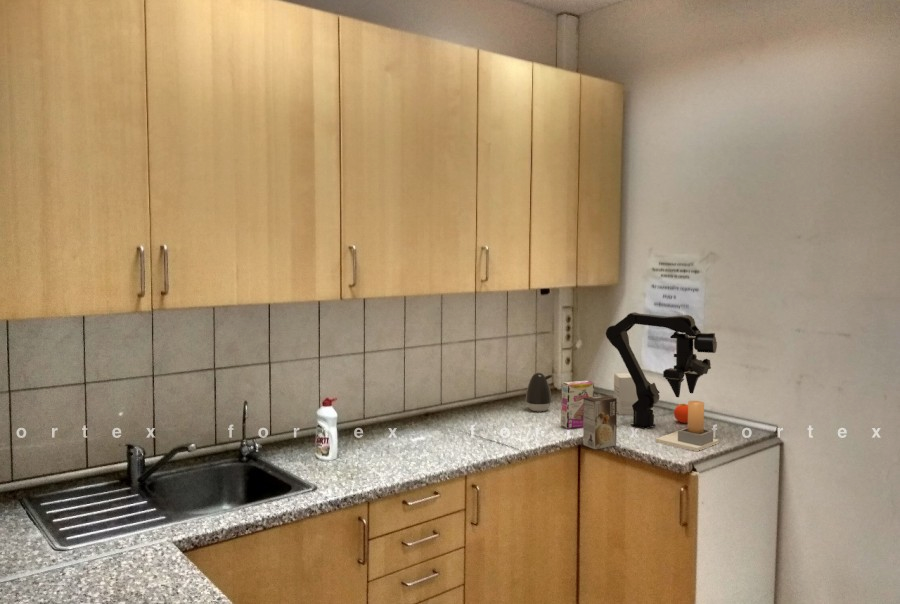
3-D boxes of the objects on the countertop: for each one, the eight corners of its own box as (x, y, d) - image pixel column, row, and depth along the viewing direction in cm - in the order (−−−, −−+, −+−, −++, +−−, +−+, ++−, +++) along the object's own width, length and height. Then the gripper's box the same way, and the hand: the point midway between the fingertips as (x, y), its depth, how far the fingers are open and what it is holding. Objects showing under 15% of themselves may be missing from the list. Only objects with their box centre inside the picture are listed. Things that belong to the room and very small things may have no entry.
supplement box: (635, 409, 287) (636, 372, 286) (642, 415, 278) (642, 376, 277) (613, 409, 287) (613, 372, 286) (618, 415, 278) (619, 377, 277)
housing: (655, 442, 241) (656, 428, 240) (677, 434, 250) (677, 421, 250) (697, 451, 230) (697, 437, 229) (718, 443, 239) (718, 429, 239)
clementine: (670, 419, 271) (671, 401, 271) (689, 419, 271) (689, 401, 271) (676, 424, 263) (676, 405, 263) (695, 425, 263) (696, 405, 263)
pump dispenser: (553, 413, 281) (553, 375, 280) (526, 413, 281) (527, 375, 280) (550, 407, 291) (550, 370, 290) (524, 407, 292) (524, 370, 290)
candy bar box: (567, 429, 257) (568, 384, 255) (560, 426, 261) (560, 382, 260) (594, 426, 261) (594, 382, 260) (586, 423, 266) (586, 379, 264)
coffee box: (604, 441, 242) (605, 394, 241) (616, 446, 236) (617, 398, 235) (582, 444, 238) (583, 397, 237) (594, 449, 232) (595, 401, 231)
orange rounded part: (686, 442, 237) (687, 403, 235) (688, 438, 241) (689, 400, 240) (702, 443, 235) (703, 404, 233) (703, 439, 239) (704, 401, 238)
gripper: (691, 356, 239) (691, 402, 241) (719, 350, 252) (719, 394, 253) (662, 353, 248) (662, 398, 249) (690, 347, 260) (690, 390, 261)
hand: (684, 395), depth 253 cm, fingers open, 9 cm apart
